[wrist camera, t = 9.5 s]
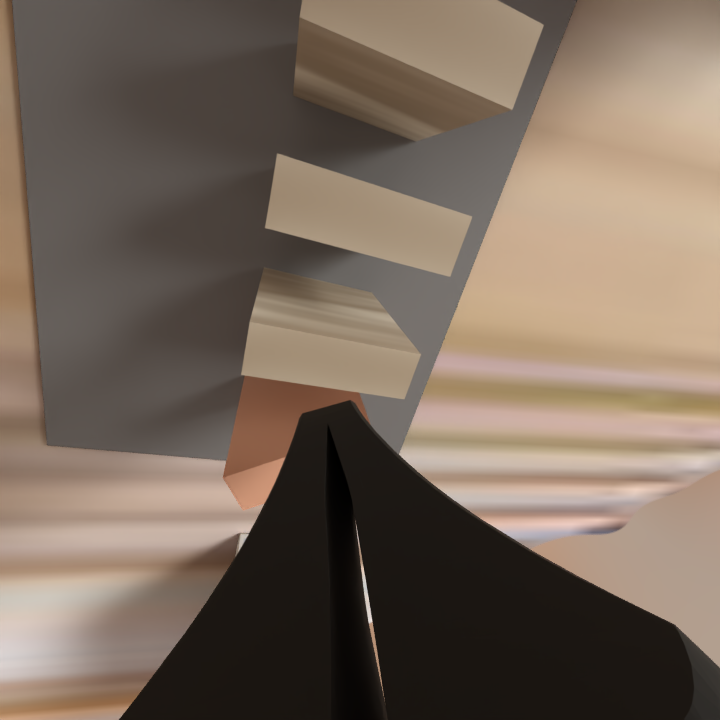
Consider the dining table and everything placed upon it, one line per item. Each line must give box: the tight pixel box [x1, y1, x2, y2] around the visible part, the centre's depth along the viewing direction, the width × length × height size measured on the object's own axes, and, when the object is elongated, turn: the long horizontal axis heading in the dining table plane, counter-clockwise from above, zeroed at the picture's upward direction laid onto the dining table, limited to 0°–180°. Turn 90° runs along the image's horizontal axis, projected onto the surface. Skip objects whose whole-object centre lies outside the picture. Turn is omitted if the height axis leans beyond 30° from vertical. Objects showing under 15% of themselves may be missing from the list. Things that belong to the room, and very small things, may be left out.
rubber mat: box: [12, 0, 577, 461], centre depth 15 cm, size 18×28×1 cm, turn 164°
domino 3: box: [241, 267, 421, 399], centre depth 13 cm, size 2×5×7 cm, turn 74°
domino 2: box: [265, 153, 472, 277], centre depth 12 cm, size 2×5×7 cm, turn 74°
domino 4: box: [223, 376, 371, 510], centre depth 15 cm, size 2×5×7 cm, turn 105°
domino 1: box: [293, 0, 544, 141], centre depth 10 cm, size 2×5×7 cm, turn 74°
